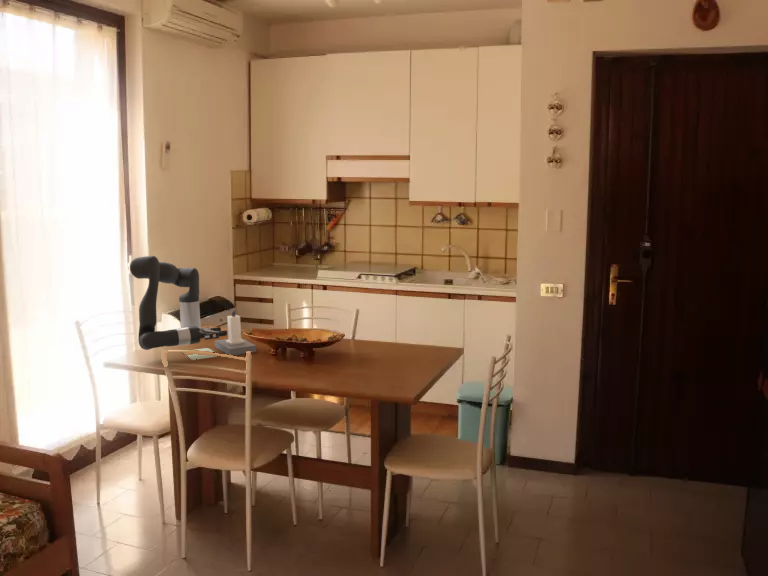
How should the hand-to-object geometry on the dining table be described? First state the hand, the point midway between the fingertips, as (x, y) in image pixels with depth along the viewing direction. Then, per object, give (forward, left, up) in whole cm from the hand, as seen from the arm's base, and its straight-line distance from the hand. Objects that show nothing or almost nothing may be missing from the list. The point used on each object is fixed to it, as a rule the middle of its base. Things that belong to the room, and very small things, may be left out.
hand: (223, 331), depth 342 cm
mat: (0, -11, -9) cm, 14 cm away
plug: (0, +5, -9) cm, 10 cm away
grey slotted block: (0, +5, -9) cm, 10 cm away
